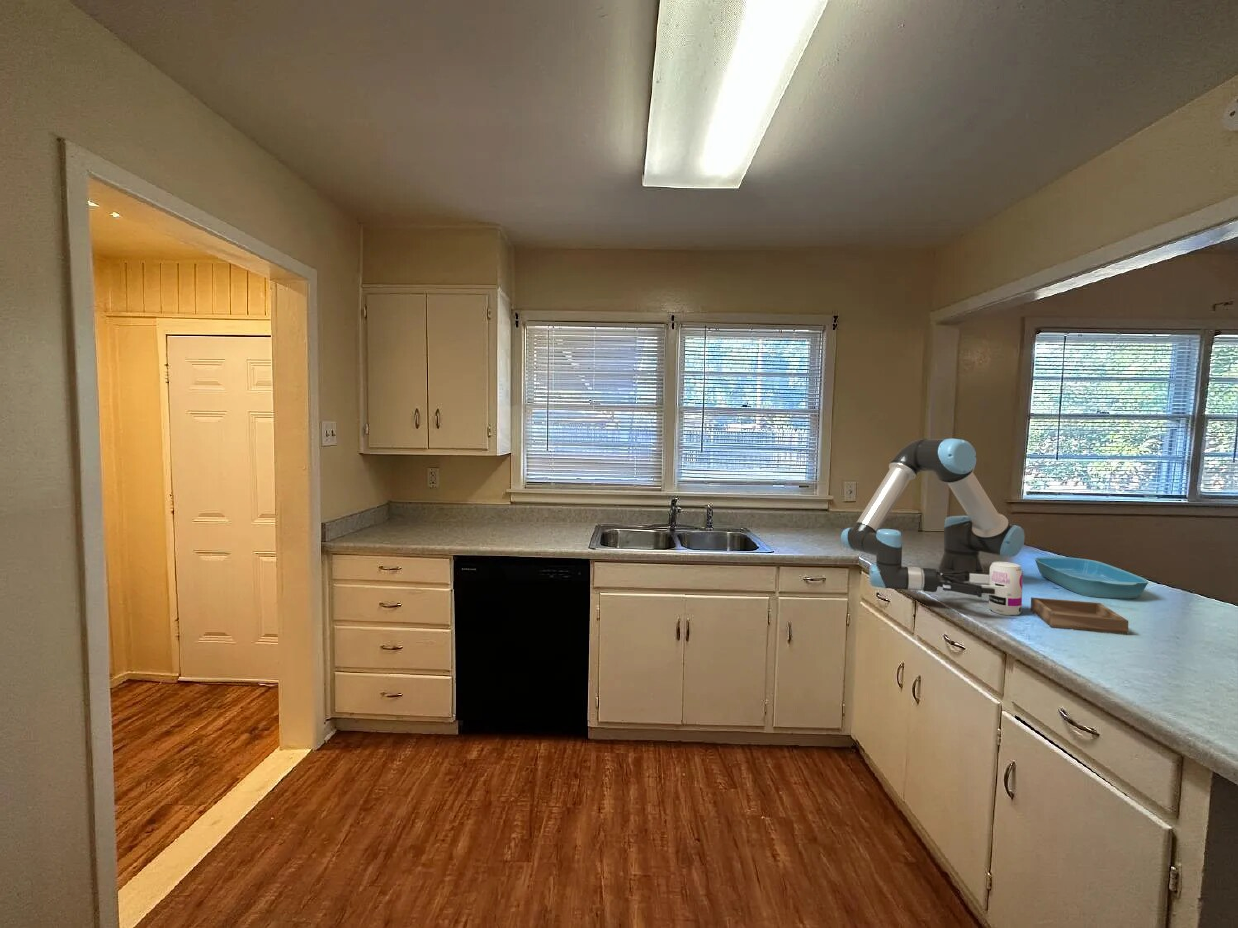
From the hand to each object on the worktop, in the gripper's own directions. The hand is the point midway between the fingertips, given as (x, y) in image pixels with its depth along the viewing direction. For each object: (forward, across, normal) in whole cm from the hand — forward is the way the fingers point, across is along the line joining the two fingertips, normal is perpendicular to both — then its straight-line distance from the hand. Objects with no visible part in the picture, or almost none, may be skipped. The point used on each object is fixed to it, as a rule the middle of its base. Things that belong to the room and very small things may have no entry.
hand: (1000, 585), depth 162 cm
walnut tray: (+18, +3, -8) cm, 20 cm away
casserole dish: (+37, -41, -9) cm, 56 cm away
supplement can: (+2, 0, -9) cm, 9 cm away
